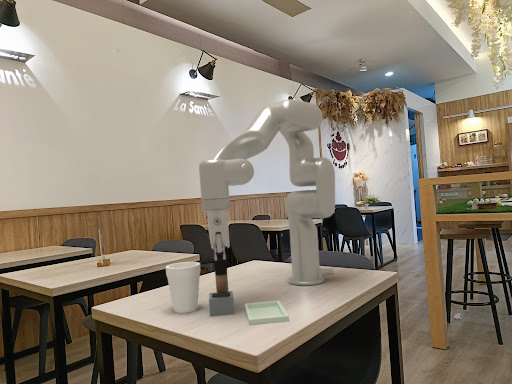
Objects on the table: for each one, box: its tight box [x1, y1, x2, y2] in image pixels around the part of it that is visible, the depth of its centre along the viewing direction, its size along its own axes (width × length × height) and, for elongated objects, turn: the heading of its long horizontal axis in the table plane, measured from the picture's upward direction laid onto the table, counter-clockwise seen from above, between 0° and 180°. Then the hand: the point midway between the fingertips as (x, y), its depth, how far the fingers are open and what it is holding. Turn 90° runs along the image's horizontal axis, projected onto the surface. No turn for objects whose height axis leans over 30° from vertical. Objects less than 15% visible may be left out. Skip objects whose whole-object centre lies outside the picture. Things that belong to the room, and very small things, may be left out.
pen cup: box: [208, 290, 235, 317], centre depth 103 cm, size 6×6×5 cm
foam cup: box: [165, 261, 201, 314], centre depth 107 cm, size 10×9×13 cm
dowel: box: [213, 253, 229, 293], centre depth 104 cm, size 3×3×10 cm
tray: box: [244, 300, 290, 326], centre depth 99 cm, size 14×10×2 cm
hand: (221, 272), depth 104 cm, fingers closed on dowel, 3 cm apart
